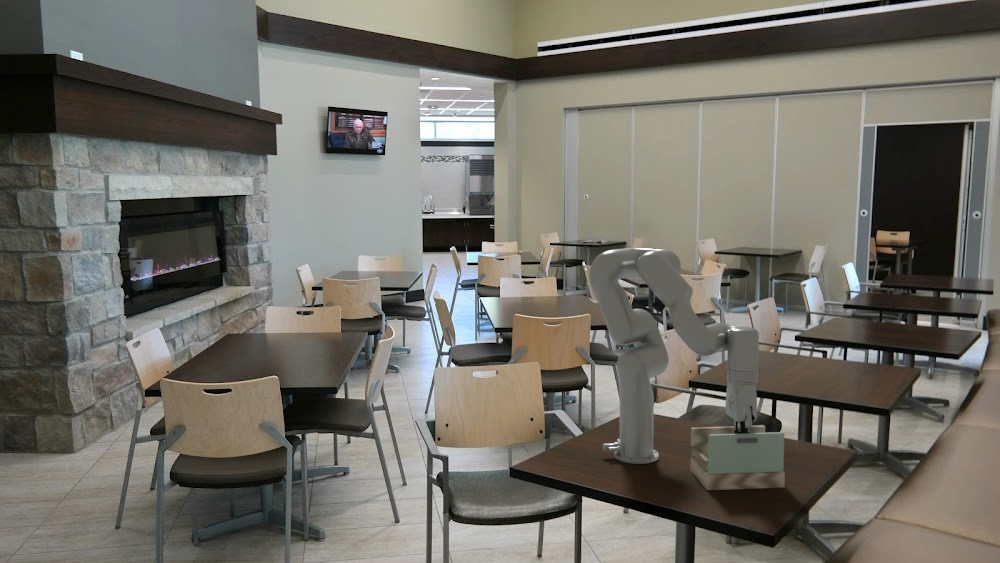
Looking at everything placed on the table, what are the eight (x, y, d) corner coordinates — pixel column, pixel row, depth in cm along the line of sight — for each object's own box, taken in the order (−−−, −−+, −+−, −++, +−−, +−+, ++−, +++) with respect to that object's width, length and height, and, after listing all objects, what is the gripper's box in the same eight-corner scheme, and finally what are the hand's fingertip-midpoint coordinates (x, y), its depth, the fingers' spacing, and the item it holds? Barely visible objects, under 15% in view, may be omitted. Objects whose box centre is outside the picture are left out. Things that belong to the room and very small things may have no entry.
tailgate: (709, 474, 192) (710, 436, 191) (707, 472, 194) (708, 434, 193) (784, 472, 193) (785, 433, 192) (781, 470, 195) (782, 432, 194)
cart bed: (707, 490, 193) (708, 444, 192) (690, 470, 207) (690, 427, 206) (784, 487, 194) (785, 441, 193) (762, 467, 208) (763, 425, 207)
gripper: (717, 369, 202) (717, 436, 204) (739, 382, 187) (738, 455, 189) (745, 368, 202) (744, 435, 204) (769, 381, 187) (767, 454, 189)
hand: (741, 445), depth 197 cm, fingers closed
